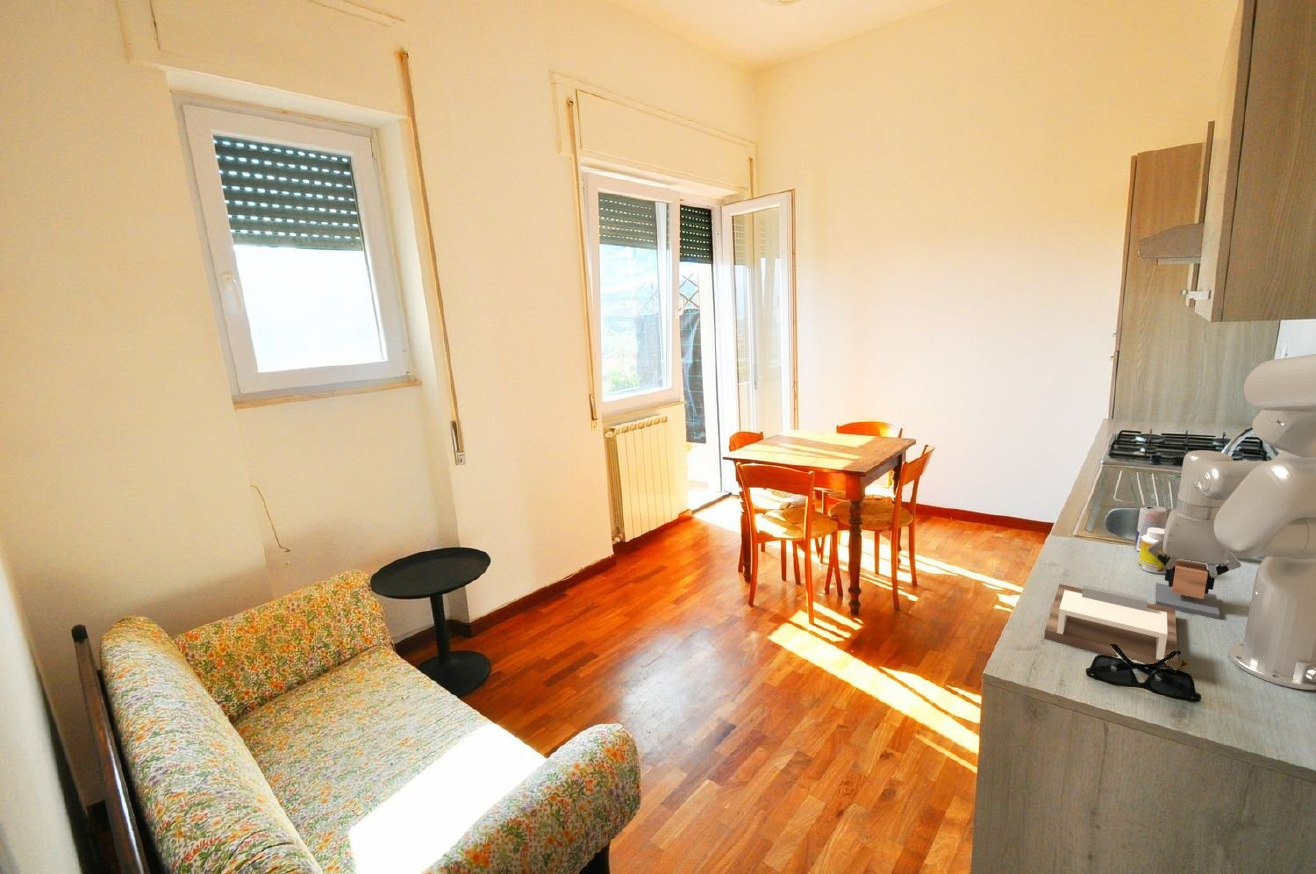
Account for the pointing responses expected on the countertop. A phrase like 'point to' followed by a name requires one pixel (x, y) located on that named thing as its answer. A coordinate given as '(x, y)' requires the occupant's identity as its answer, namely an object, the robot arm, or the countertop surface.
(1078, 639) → the puzzle board
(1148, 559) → the supplement bottle
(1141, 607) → the cream bridge stand
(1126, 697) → the countertop surface
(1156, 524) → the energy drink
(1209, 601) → the slate mat
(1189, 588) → the block
